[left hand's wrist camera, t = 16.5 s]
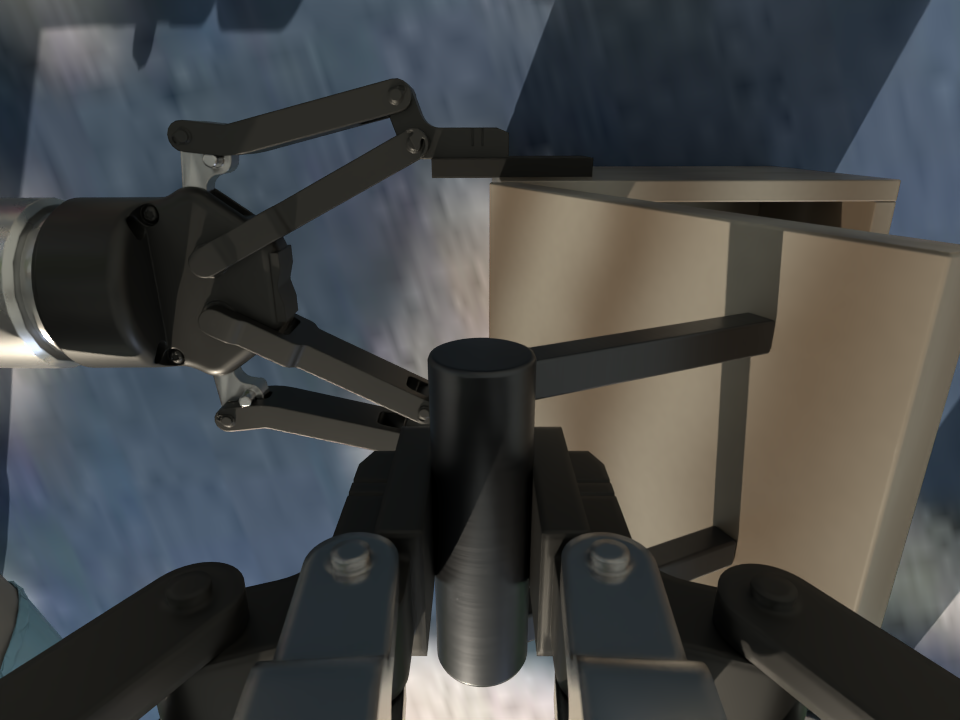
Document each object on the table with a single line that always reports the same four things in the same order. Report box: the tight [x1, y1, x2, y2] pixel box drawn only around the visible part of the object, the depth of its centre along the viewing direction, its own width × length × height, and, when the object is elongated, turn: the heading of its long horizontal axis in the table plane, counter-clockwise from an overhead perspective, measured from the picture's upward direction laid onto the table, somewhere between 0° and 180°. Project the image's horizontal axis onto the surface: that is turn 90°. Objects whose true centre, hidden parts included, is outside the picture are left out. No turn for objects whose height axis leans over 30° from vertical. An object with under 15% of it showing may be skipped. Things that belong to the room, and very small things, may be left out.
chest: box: [492, 166, 901, 234], centre depth 29 cm, size 15×9×10 cm, turn 90°
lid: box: [428, 182, 960, 687], centre depth 16 cm, size 16×9×8 cm
